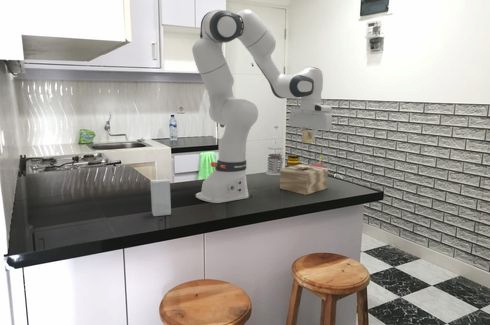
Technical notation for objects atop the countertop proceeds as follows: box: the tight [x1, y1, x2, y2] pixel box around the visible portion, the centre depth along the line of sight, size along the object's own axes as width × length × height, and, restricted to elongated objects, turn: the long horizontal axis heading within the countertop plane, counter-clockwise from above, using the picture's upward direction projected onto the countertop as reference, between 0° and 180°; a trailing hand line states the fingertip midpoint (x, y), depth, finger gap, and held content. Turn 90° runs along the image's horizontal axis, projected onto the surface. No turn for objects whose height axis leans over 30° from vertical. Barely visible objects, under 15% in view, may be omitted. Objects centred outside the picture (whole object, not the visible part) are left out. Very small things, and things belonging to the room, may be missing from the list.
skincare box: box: [149, 178, 172, 217], centre depth 125 cm, size 6×4×12 cm
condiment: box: [286, 154, 300, 167], centre depth 182 cm, size 7×8×12 cm
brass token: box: [302, 129, 315, 144], centre depth 160 cm, size 5×2×5 cm, turn 136°
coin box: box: [279, 163, 329, 196], centre depth 164 cm, size 16×14×9 cm
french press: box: [265, 125, 284, 176], centre depth 191 cm, size 10×12×25 cm
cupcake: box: [310, 153, 327, 168], centre depth 187 cm, size 9×8×12 cm
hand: (308, 138), depth 160 cm, fingers closed on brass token, 2 cm apart
